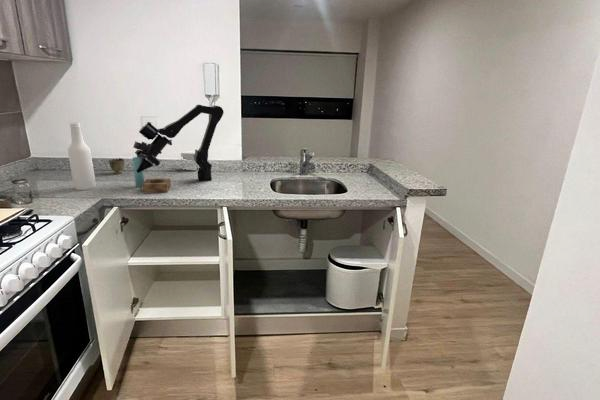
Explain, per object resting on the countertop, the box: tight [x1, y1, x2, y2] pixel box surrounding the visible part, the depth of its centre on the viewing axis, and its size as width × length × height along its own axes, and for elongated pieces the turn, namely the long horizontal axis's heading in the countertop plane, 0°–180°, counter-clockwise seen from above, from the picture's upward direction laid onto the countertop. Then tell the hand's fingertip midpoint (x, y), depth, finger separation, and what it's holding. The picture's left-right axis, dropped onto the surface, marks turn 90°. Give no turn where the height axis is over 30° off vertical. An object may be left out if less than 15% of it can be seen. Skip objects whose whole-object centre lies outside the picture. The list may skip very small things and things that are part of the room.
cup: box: [108, 157, 125, 175], centre depth 190 cm, size 8×7×8 cm
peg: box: [132, 156, 145, 188], centre depth 166 cm, size 4×4×14 cm
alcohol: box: [67, 122, 97, 191], centre depth 158 cm, size 9×9×30 cm
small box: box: [180, 152, 195, 161], centre depth 204 cm, size 8×6×10 cm
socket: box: [141, 178, 172, 194], centre depth 163 cm, size 11×11×4 cm
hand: (135, 171), depth 165 cm, fingers closed on peg, 4 cm apart
